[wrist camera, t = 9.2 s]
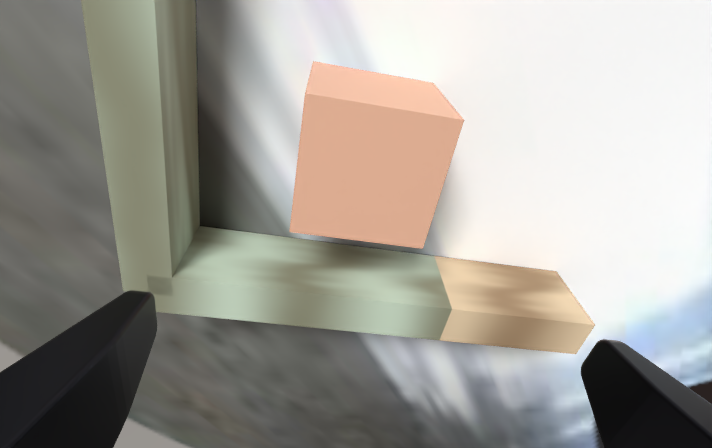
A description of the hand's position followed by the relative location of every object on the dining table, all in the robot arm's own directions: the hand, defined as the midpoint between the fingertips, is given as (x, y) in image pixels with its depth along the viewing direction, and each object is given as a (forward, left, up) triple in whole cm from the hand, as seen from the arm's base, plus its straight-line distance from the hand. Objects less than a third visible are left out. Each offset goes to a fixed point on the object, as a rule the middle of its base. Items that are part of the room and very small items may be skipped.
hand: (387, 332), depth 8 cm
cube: (0, 0, -12) cm, 12 cm away
